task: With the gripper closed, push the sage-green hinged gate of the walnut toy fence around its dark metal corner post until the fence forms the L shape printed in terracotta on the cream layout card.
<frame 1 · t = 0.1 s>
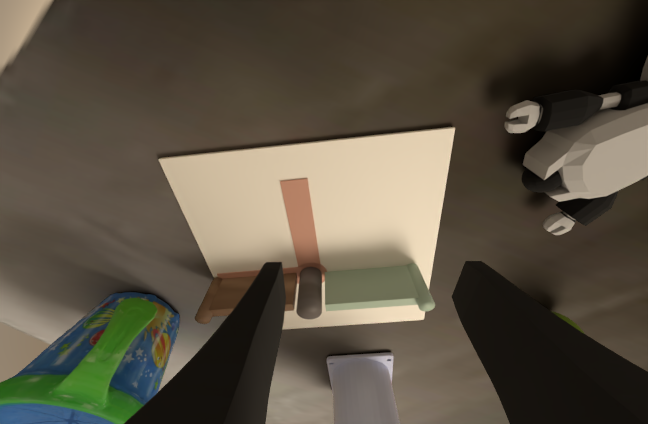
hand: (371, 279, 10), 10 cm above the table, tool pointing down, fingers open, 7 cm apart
robot toy: (622, 106, 17), on the table
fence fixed: (311, 271, 24), resting on layout card
fence gate: (375, 289, 21), point 3 cm above the table, hinge at 0.0°
layout card: (319, 254, 23), on the table
snack cup: (146, 310, 27), on the table
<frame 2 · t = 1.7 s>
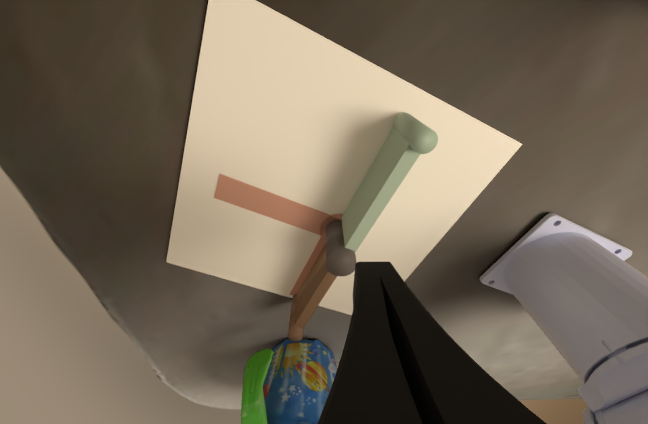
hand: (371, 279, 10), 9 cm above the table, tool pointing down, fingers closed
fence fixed: (338, 227, 20), resting on layout card
fence gate: (379, 185, 16), point 3 cm above the table, hinge at 0.0°
layout card: (320, 209, 19), on the table
snack cup: (302, 351, 30), on the table
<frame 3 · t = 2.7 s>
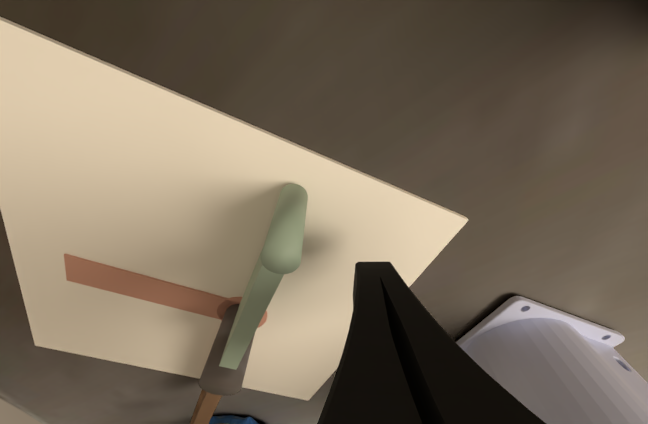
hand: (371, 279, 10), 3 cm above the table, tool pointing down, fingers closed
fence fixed: (244, 309, 16), resting on layout card
fence gate: (260, 284, 11), point 3 cm above the table, hinge at 0.0°
layout card: (214, 289, 15), on the table
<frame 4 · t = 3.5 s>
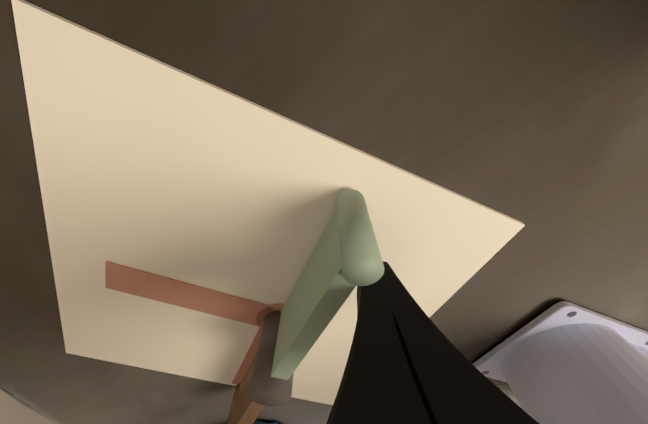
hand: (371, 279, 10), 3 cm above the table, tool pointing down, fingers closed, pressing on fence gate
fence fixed: (282, 315, 16), resting on layout card
fence gate: (316, 293, 11), point 3 cm above the table, hinge at 0.0°, touching gripper
layout card: (254, 296, 15), on the table
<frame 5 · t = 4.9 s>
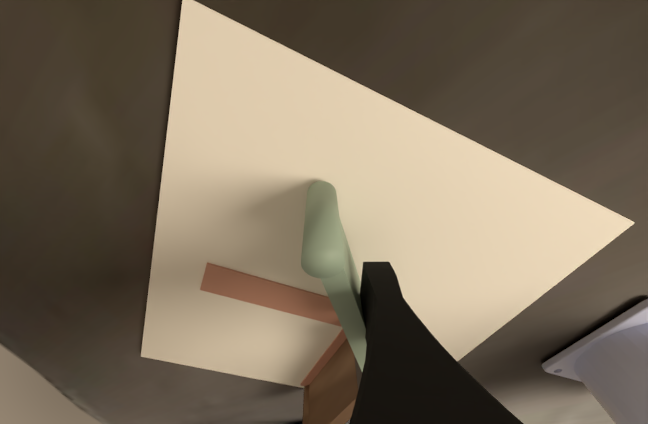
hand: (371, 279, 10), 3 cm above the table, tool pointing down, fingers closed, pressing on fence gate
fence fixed: (366, 316, 15), resting on layout card
fence gate: (348, 290, 10), point 3 cm above the table, hinge at 40.9°, touching gripper
layout card: (343, 297, 15), on the table
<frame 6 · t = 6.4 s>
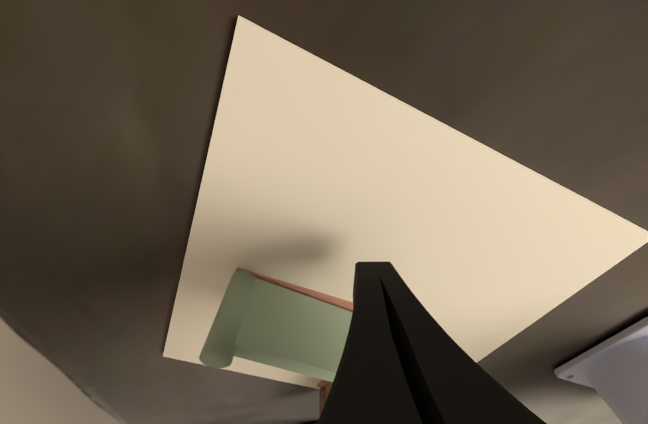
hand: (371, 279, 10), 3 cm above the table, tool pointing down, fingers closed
fence gate: (304, 335, 12), point 3 cm above the table, hinge at 86.0°
layout card: (365, 302, 15), on the table
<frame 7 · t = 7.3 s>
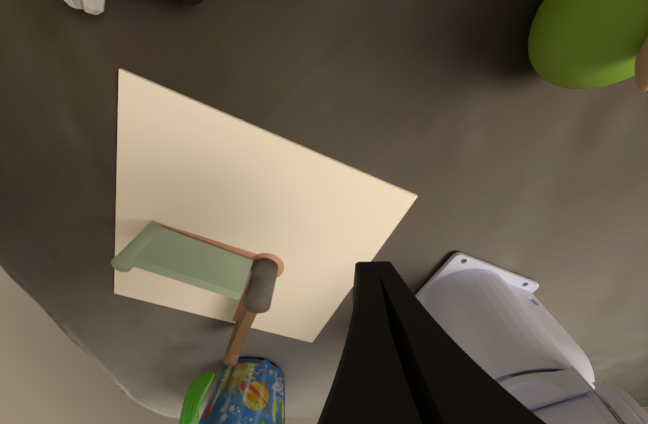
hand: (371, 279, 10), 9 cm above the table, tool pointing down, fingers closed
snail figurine: (562, 15, 14), on the table
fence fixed: (267, 263, 22), resting on layout card
fence gate: (191, 262, 19), point 3 cm above the table, hinge at 86.0°
layout card: (248, 248, 21), on the table
snack cup: (254, 369, 32), on the table
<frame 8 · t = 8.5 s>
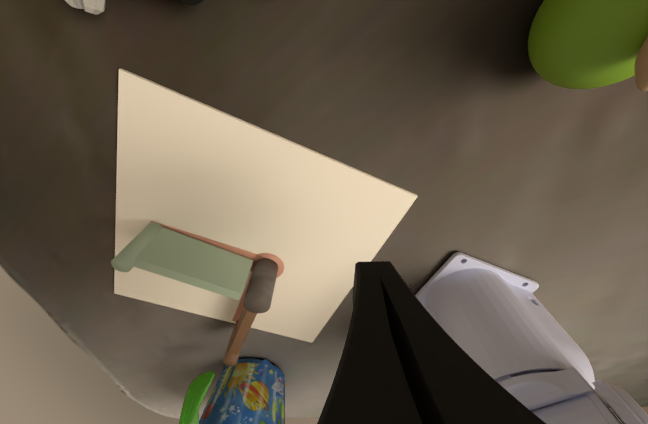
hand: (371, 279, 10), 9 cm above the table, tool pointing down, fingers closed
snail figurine: (562, 15, 14), on the table
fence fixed: (267, 263, 22), resting on layout card
fence gate: (191, 262, 19), point 3 cm above the table, hinge at 86.0°
layout card: (248, 248, 21), on the table
snack cup: (254, 369, 32), on the table
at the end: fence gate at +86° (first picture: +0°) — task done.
